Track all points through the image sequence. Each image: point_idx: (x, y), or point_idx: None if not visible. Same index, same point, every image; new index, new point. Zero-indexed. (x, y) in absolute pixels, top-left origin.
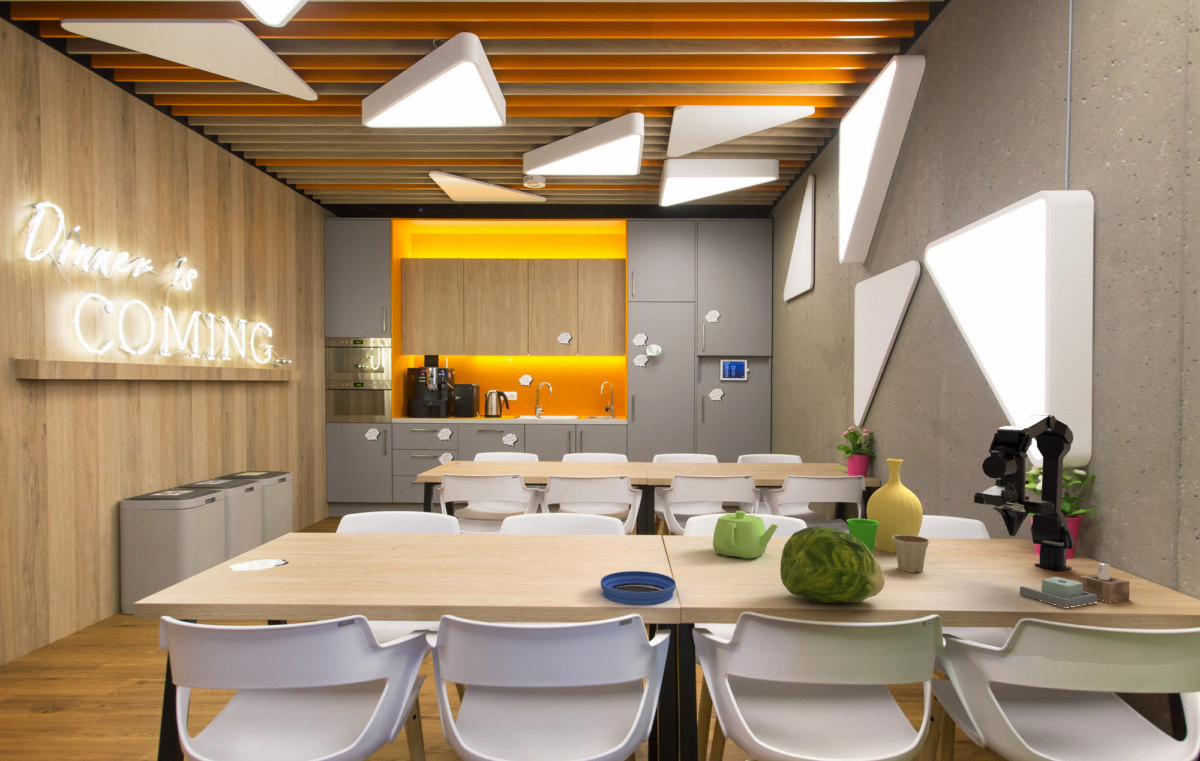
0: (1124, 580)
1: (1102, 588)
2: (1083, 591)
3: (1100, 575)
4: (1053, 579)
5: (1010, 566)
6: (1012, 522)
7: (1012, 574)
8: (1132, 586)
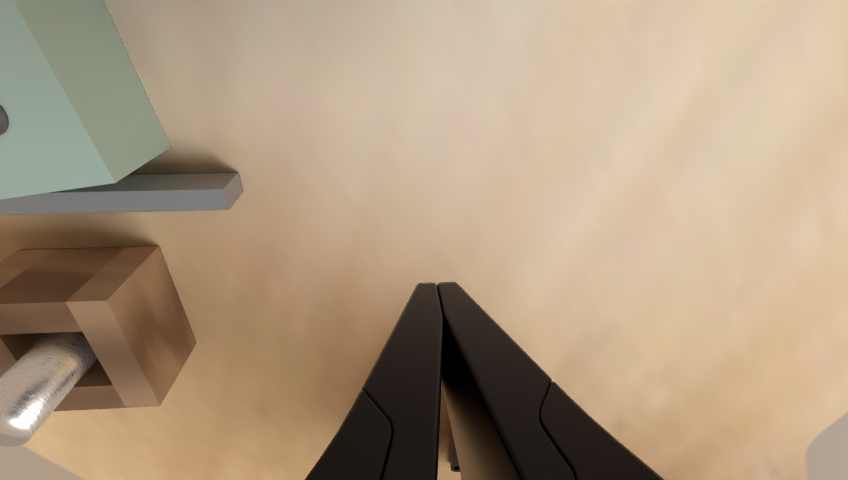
0: None
1: (5, 284)
2: (39, 208)
3: (33, 357)
4: (37, 103)
5: (581, 341)
6: (389, 413)
7: (503, 254)
8: (245, 464)
